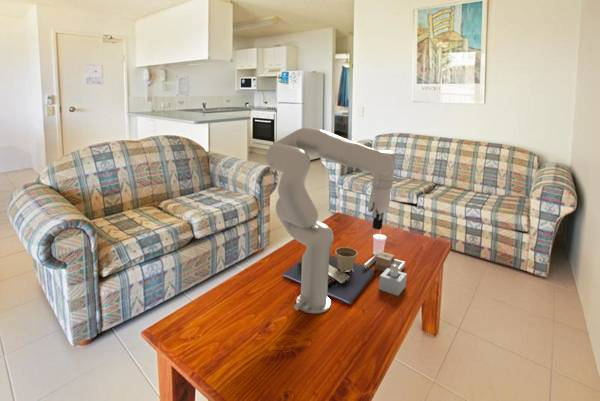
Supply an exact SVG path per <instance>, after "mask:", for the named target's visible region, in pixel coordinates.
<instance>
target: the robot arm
mask: <svg viewBox="0 0 600 401" xmlns="http://www.w3.org/2000/svg"><path fill="white" fill-rule="evenodd" d="M310 155H311V156H314V157H317V158H320V159H323V160H325V161H329V162H332V163H335V164H338V165H342V166H346V167H350V168H354V169H358V170H360V171H362V172H365V173H366V172H367V173H371V174H372V182H371V187H372V189H371V192H370V195H369V201H368V202H369V203H368V209H367V211H368V213H372V214H371V217H372V218H373V220H372V229H375V230H379V231H380V229H381V230H382V229H383V223H384V222H383V221H384V217H385V215H384V214H385V212H386V211H387V210H389V208H390V207H389V206H390V200H391V190H392V189H393V182H394V174H395V168H396V160H397V156H396V152H394V151H393V150H388V149H387V150H386V149H385V150H384V149H382V150H381V149H380V150H377V149H374V148H371V147H369V146H366V145H363V144H361V143H358V142H356V141H352V140H349V139H348V138H344V137H342V136H339V135H338V134H335V133H332V132H330V131H327V130H324V129H319V128H315V127H308V126H307V127H306V126H304V127H301V128H299V129H297V130H295V131H293V132H291V133H289V134H288V135H286V136H284V137H282V138H281V139H279V140H277V141H275V142H274V143H272V145H271V146H269V148H268V149H267V150H266V153H265V161H266V163H267V165H268V166H269V167H270V168H271V169H272V170H275V171H278V172H281V173H282V174H281V176H280V179H279V181H278V182H279V183H278V186H277V194H278V199H277V201H276V203H275V211H276V215H277V217H278V219H279V221H280V222H281V223H282V225H283V226H284V228H285V229H286V231H287V232H288V234H289V235H290V237H291V238H292V239H294V240H295V241H297V242H299V243H301V244H302V245H304V246H306V250H305V252H304V253H303V254H302V257H301V273H300V274H301V277H300V278H301V280H300V281H301V282H300V283H301V284H300V295H298V296H297V297H296V300H295V301H296V304H294V305H293V308H294V309H295V310H296V311H298V310H301V311H302V312H304V313H308V314H314V315H315V314H316V315H317V314H322V313H325V312H327V311H328V310H329V309H330V308H331V305H332V300H331V299H330V298H329V297H328V285H329V268H330V254H331V250H332V246H333V242H334V232H333V230H332V229H331V228H330V227H329V226H328V225H327V224H326V223H324V222H322V221H319V213H318V210H317V207H316V204H314V202H313V200H312V198H311V197H310V195H309V192H308V191H307V188H306V185H305V182H306V178H307V176H308V172H309V171H310V167H311V158H310Z"/></svg>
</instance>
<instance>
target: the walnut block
mask: <svg viewBox="0 0 600 401" xmlns="http://www.w3.org/2000/svg"><path fill="white" fill-rule="evenodd" d="M394 259H396V255H394V254H391V253H389V252H381V253H380V254H379V255H378V256H376V261H375V267H374V268H375V270H378V271H381V272H384V271H385V270H386V269H387V268H391V264H394Z"/></svg>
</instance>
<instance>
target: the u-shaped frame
mask: <svg viewBox="0 0 600 401" xmlns="http://www.w3.org/2000/svg"><path fill="white" fill-rule="evenodd" d="M378 255H379V254H376V255H374V254H373V256H372V257H371V258H370V259H368V261H366V262H365V263H364V264H363V268H364V267H365V268H366V267H368V268H369V267H370V266H371V265H373V264H374V263H376V256H378ZM394 264H397V265H399V269H398V271H400V272H402V270H403V269H404V268H405V267H406V261H404V260H399V259H396V258H394Z"/></svg>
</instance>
